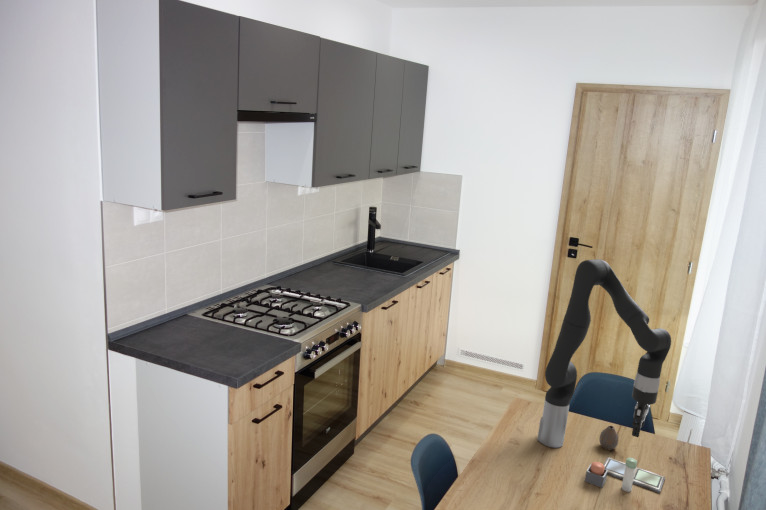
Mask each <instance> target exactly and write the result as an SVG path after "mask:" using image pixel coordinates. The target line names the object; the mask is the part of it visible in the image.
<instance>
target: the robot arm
mask: <svg viewBox="0 0 766 510" xmlns="http://www.w3.org/2000/svg"><path fill="white" fill-rule="evenodd" d="M595 286H600V287H602V288H603V289H604V290H605V291H606V292H607V294H608V295H609V297H610V298H611V300H612V304H613V306H614V310H615V311H616V313H617V315H618V316H619V317H620V319H621V320H622V321H623V322H624V323H625V324H626V325H627V326H628V328H629V329H630V331H631V333H632V335H633V336H634V339H635V341H636V343H637V344H638V346H639V347H640V348H641V349H643V350H644V351H645V353H644V354H643V355H642V356H641V357H640V358H639V361H638V365H637V366H638V367H637V371H636V375H635V378H634V382H633V387H632V392H631V398H632V399H633V400H634V401H636V404H635V406H634V413H633V419H632V425H631V426H632V431H631V436H632V437H636V438H639V437H640V435H641V434H640V433H641V430H642V429H641V428H643V427H644V426H645V422H646V421H645V420H646V417H647V416H648V414H649V410H650V405H654V404H655V403H656V402H657V399H658V394H659V388H660V385H661V384H660V381H661V375H662V374H661V373H662V368H663V367H662V366H663V365H664V362H665V360H666V358H667V356H668V354H669V351H670V349H671V346H672V337H671V334H670V333H669V331H668V330H667V329H664V328H662V327H661V328H653V329H651V327H649V325H648V324H649V323H650V318H649V315H648V314H647V313H646V312H645V311H644V310H643V309H642V308H641V307H640V305H639V304H637V302H636V301H635V300H634V298H632V296H631V295H630V294H629V292H628V291H627V290H626V288H625V287H624V285H623V284H622V282H621V281H620V279H619V278H618V277H617V275H616V273H615V271H614V269H613V268H612V267H611V265H610V264H609V263H608V262H607V261H605V260H603V259H595V258H594V259H586V260H583V261H581V262H580V263H579V264H578V265H577V268H576V271H575V275H574V279H573V284H572V289H571V294H570V297H569V301H568V305H567V308H566V311H565V314H564V316H563V320H562V324H561V326H560V331H559V333H558V335H557V336H558V337H557V340H556V343H555V346H554V349H553V352H552V354H551V356H550V359H549V361H548V363H547V366H546V368H545V372H544V378H545V381H546V384H548V386H550V387H549V388H548V390H547V391H546V392H545V397H544V403H543V410H542V416H541V417H540V420H539V427H538V432H537V433H538V435H537V439H536V440H537V441H538V442H539V443H541V444H542V445H544V446H546V447H549V448H554V449H557V448H561V447H563V446H564V442H565V435H566V430H567V428H566V427H567V423H568V416H569V410H570V404H571V400H572V398H573V397H574V393H575V389H576V386H577V385H576V384H577V379H578V371H577V368H576V365H574V363H573V362H572V361H571V360H572V357H573V356H574V355H575V353H576V352H577V350H578V349H579V347H580V346H581V345H582V344H583V341H584V340H585V339H586V336H587V334H588V331H589V328H590V324H591V321H592V320H591V312H590V306H589V305H590V304H589V302H590V301H589V300H590V296H591V294H592V290H593V288H594V287H595Z"/></svg>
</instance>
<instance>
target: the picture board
mask: <svg viewBox="0 0 766 510" xmlns="http://www.w3.org/2000/svg"><path fill="white" fill-rule="evenodd" d="M625 464H626V462H623V461H620V460H617V459H615V458H612V457H608V456H607V458H606V460H605V461H604V464H603V465H604V466H605V469H607V470H608V473H607V476H610V477H613V478H616V479H618V480H622V481H623V477H624V472H625V466H626V465H625ZM665 479H666V476H664V475H660V474H658V473H656V472H653V471H649V470H647V469H643V468H641V467H638V466H636V469H635V474H634V479H633V485H635V486H638V487H642V488H644V489H647V490H650V491H652V492H655V493H658V494H661V490H662V489H663V488H662V487H663V485H664V482H665Z"/></svg>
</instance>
